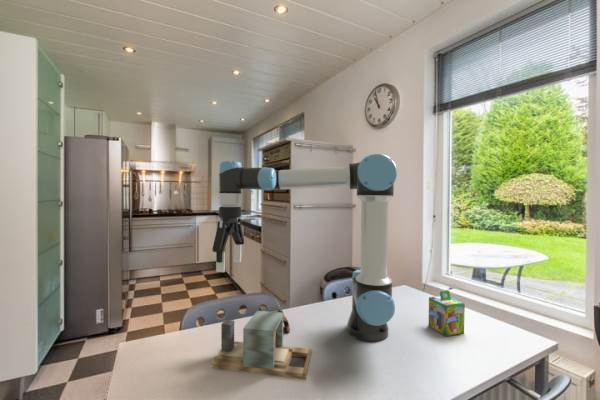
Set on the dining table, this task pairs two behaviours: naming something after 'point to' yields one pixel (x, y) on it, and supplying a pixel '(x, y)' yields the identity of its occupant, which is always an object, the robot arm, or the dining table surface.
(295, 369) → the tunnel deck
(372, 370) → the dining table surface
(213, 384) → the dining table surface
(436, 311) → the chalk box
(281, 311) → the pottery mug
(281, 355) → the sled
